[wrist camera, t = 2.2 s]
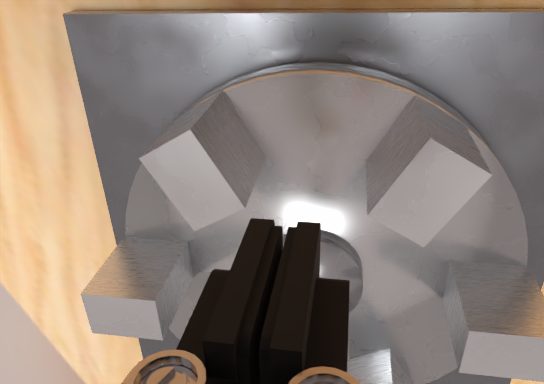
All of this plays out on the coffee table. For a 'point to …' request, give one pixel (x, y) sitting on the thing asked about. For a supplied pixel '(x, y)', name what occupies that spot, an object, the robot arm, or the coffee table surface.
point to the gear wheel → (337, 221)
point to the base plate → (305, 49)
